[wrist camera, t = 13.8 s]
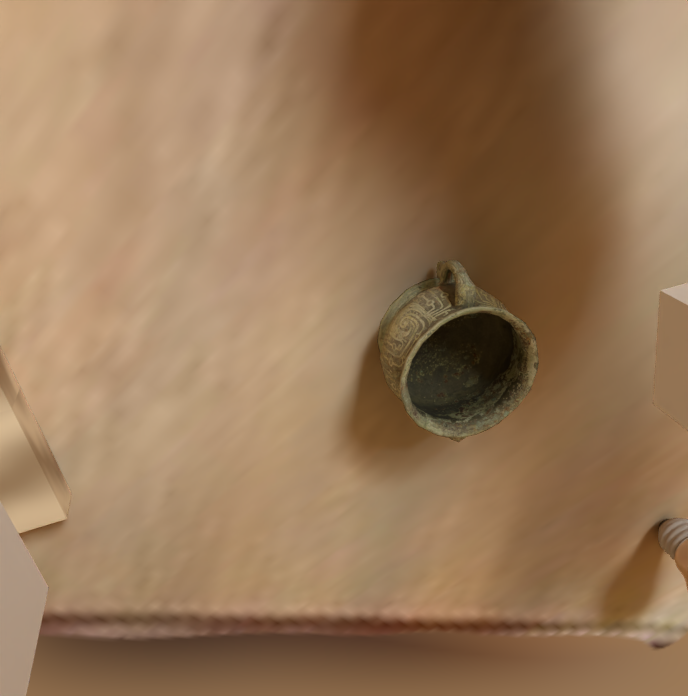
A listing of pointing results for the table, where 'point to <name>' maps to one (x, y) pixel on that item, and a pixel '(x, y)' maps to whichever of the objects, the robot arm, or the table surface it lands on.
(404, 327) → the vessel
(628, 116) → the table surface
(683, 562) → the light bulb
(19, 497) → the jig
